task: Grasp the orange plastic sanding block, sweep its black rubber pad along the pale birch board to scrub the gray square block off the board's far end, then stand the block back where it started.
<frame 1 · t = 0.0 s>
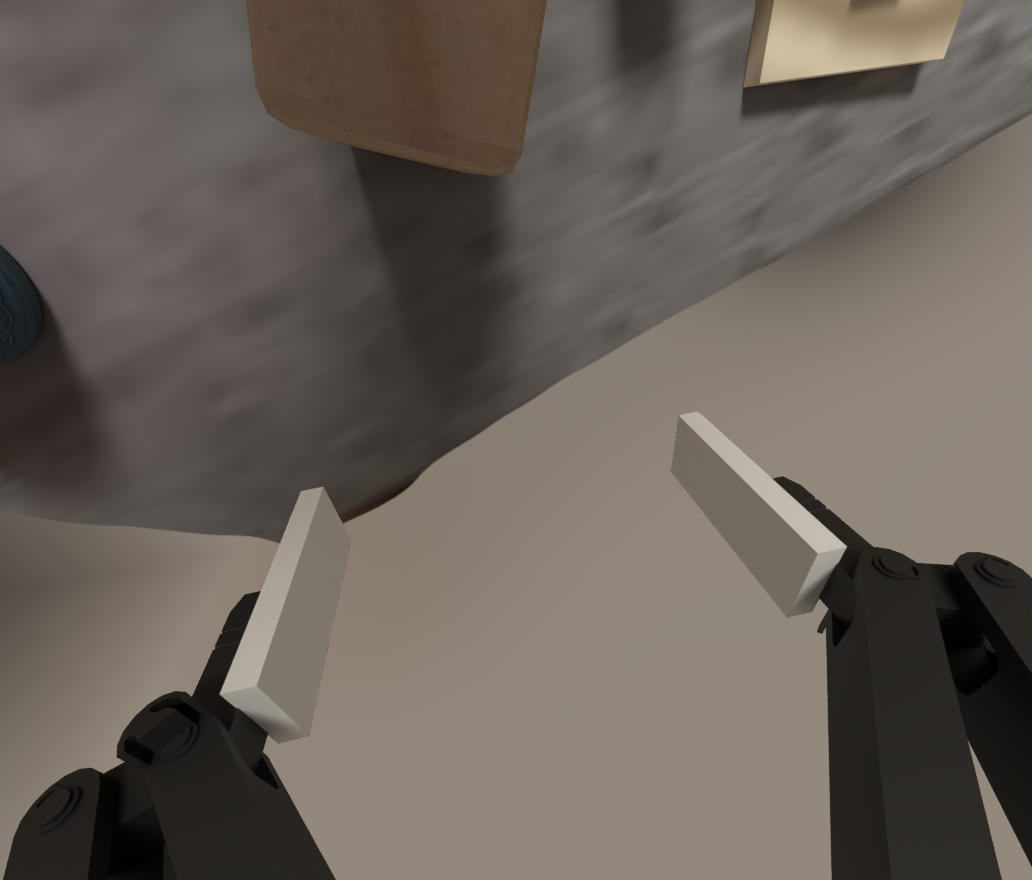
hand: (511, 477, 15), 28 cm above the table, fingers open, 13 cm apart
wooden block: (417, 79, 29), on the table
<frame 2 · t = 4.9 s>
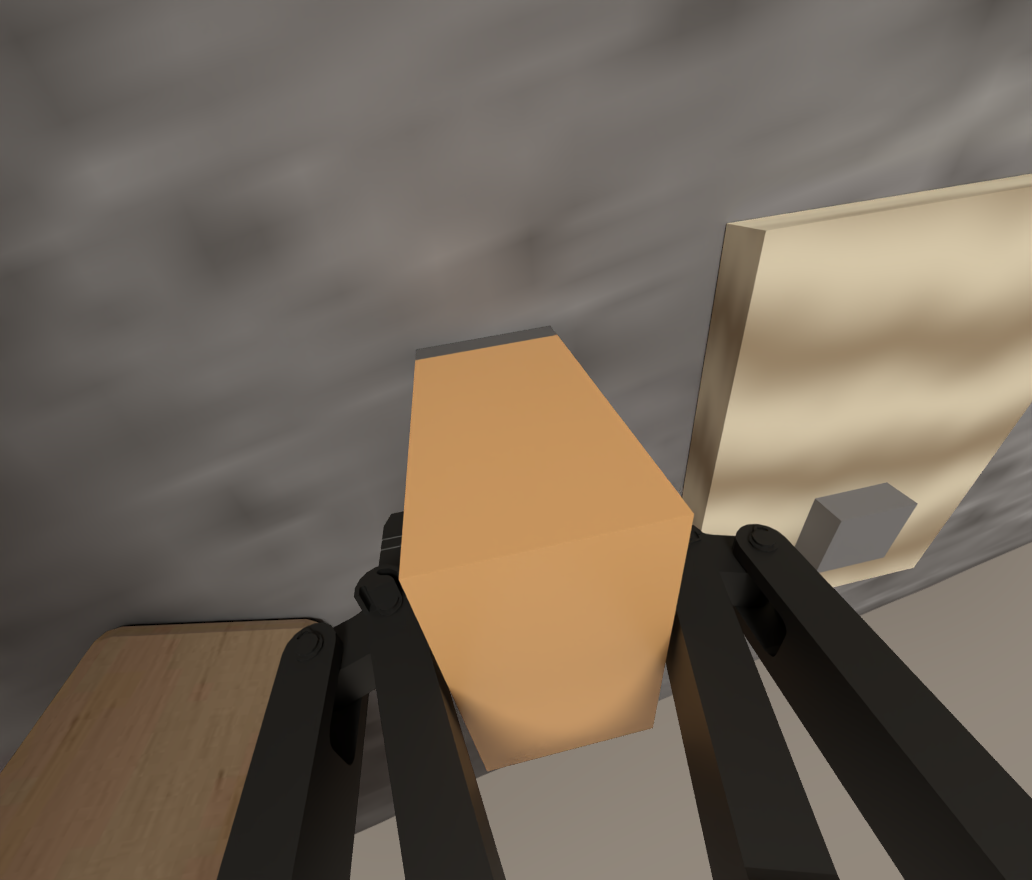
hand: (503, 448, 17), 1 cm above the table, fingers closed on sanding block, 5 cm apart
wooden block: (238, 663, 23), on the table
birch board: (832, 436, 21), on the table
gray square block: (837, 517, 22), point 2 cm above the table, touching birch board
sanding block: (501, 437, 17), on the table, touching gripper
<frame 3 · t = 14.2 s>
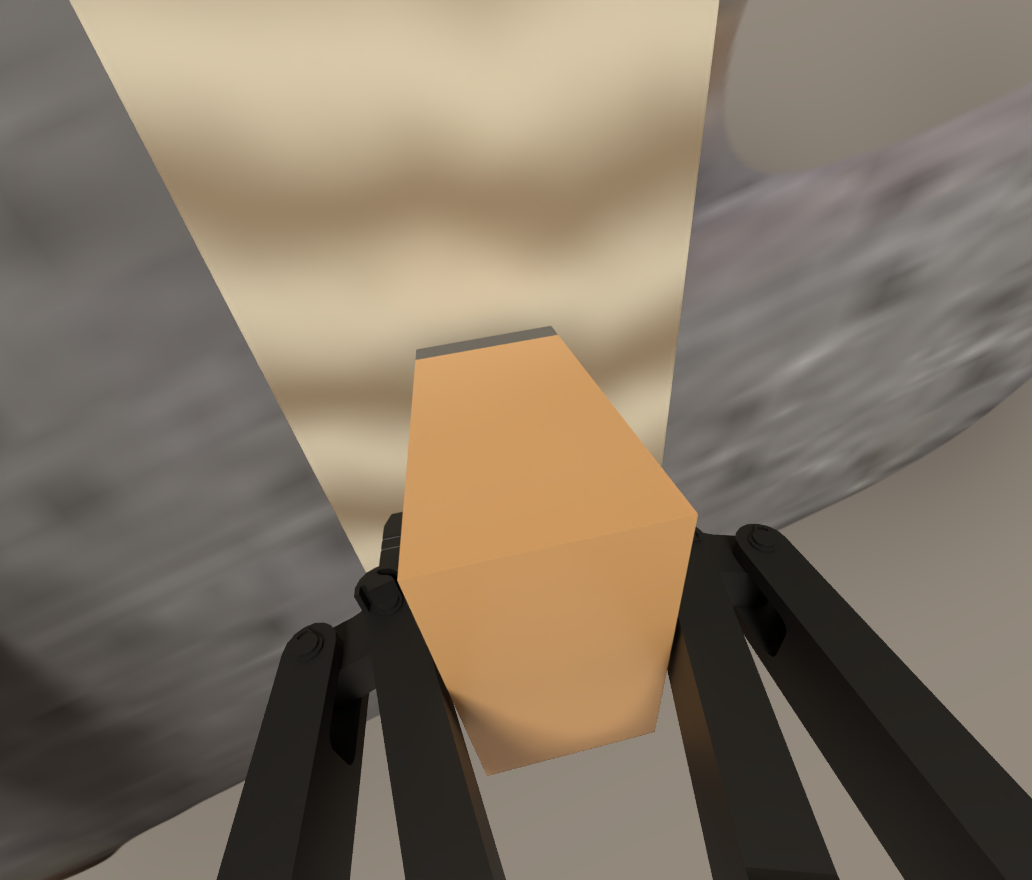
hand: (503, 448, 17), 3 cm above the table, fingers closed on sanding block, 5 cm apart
birch board: (482, 353, 18), on the table
sanding block: (501, 438, 17), point 3 cm above the table, touching gripper
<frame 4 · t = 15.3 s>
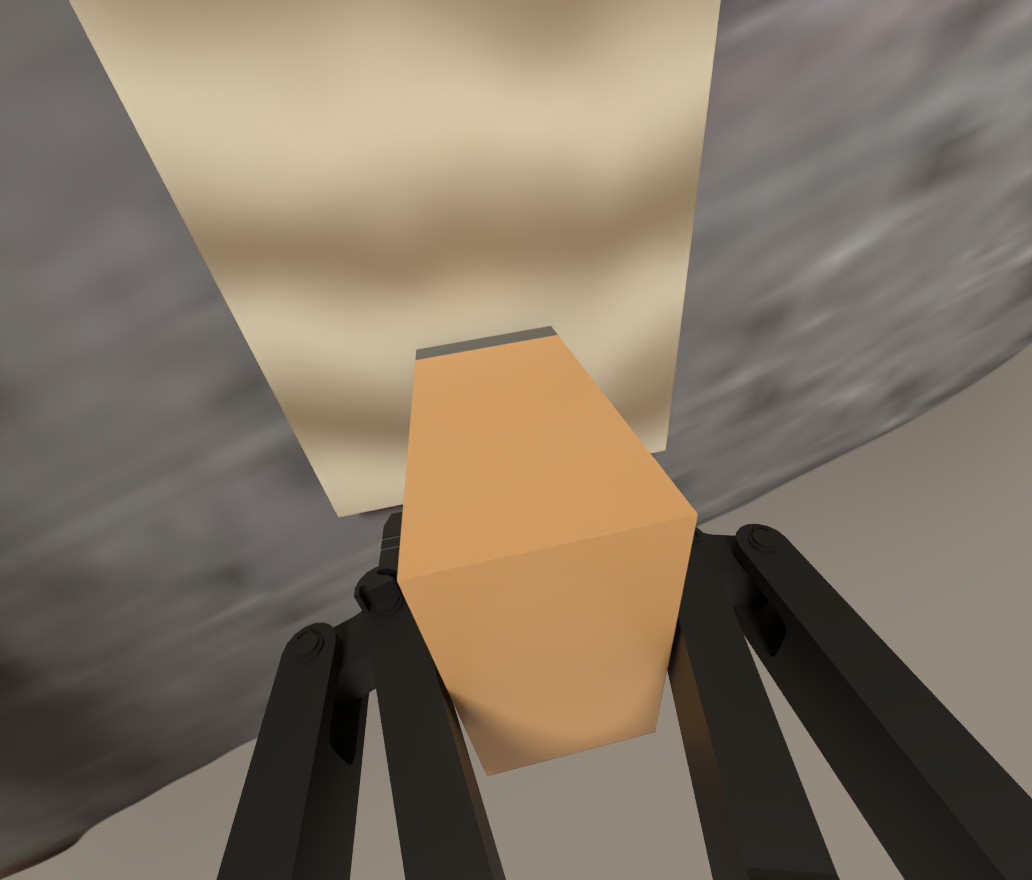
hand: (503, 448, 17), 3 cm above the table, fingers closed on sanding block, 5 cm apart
birch board: (460, 220, 15), on the table
sanding block: (501, 438, 17), point 2 cm above the table, touching gripper
when the fingers open (2 cm above the table, at t = 25.5 s): sanding block drops 1 cm, on the table.
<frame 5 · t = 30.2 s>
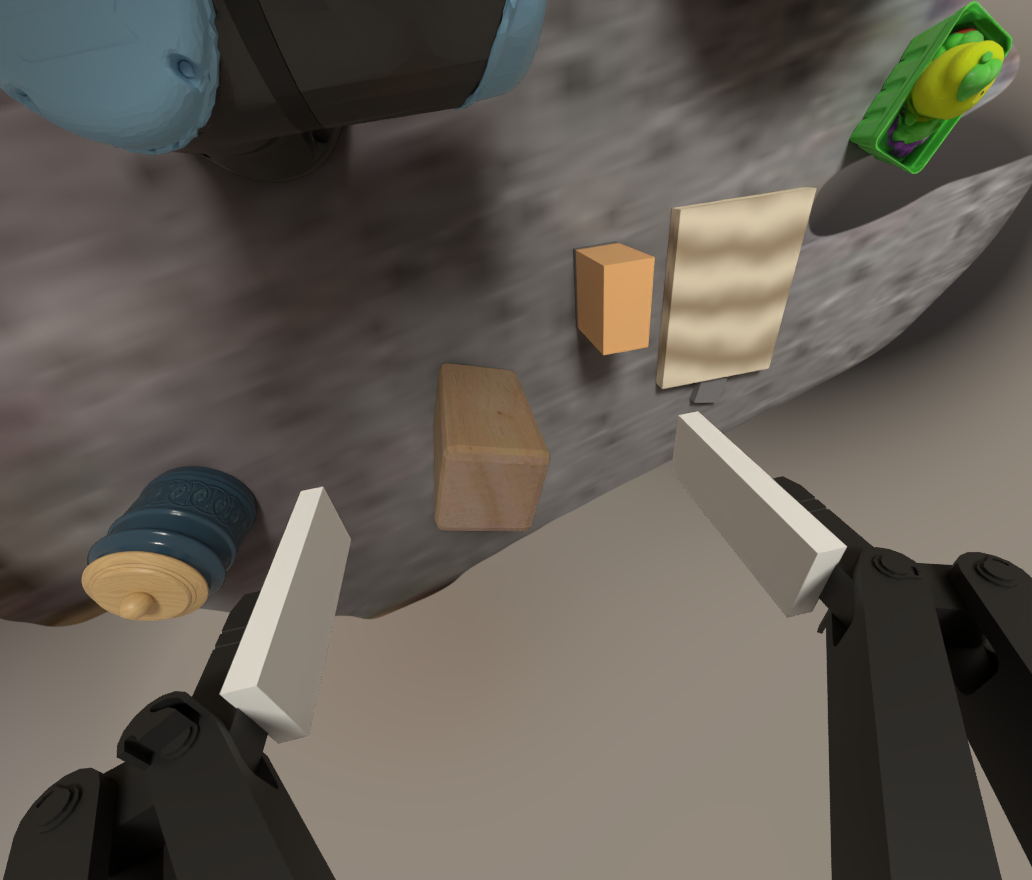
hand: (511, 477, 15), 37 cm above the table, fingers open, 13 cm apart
wooden block: (473, 397, 54), on the table
birch board: (721, 295, 52), on the table
gray square block: (704, 385, 60), on the table
canister: (207, 500, 56), on the table
sanding block: (594, 285, 49), on the table
fruit basket: (888, 100, 43), on the table
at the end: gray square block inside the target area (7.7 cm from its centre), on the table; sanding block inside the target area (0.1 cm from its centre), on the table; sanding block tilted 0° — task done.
